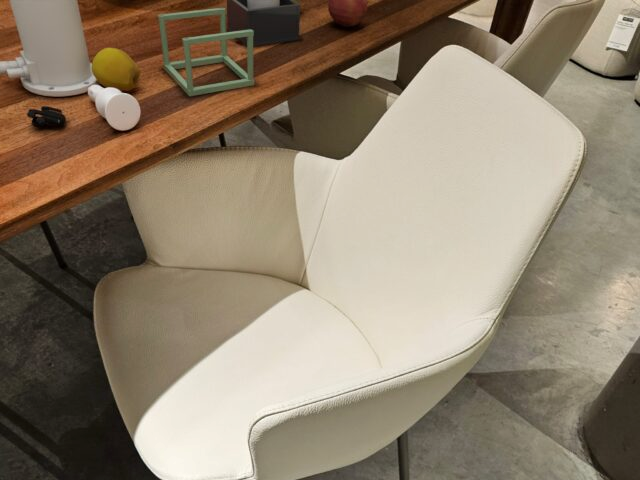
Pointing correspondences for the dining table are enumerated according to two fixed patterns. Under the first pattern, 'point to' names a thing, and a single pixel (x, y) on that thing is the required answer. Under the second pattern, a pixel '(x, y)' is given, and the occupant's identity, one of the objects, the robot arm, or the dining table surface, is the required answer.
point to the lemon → (115, 69)
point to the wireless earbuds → (46, 117)
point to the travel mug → (262, 3)
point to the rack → (189, 63)
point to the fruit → (347, 11)
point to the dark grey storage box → (265, 21)
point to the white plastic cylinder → (115, 106)
